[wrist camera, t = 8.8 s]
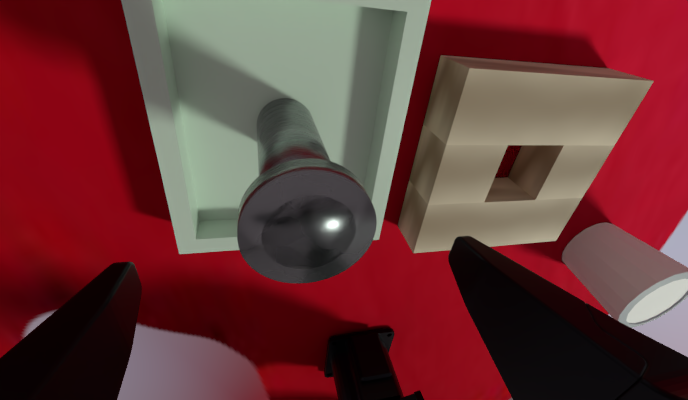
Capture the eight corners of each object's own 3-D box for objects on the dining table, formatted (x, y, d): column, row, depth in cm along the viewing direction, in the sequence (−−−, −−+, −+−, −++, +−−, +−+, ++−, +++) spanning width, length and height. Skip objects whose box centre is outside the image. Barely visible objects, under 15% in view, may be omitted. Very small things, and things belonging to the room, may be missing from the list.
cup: (563, 230, 30) (635, 290, 24) (631, 208, 30) (717, 261, 25) (549, 277, 34) (608, 338, 28) (609, 257, 34) (678, 313, 29)
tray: (367, 216, 24) (378, 239, 22) (186, 226, 21) (179, 254, 19) (411, -16, 16) (434, -13, 14) (130, -53, 13) (107, -58, 11)
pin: (323, 162, 19) (366, 276, 12) (245, 163, 18) (242, 289, 11) (329, 86, 17) (387, 173, 10) (239, 82, 16) (231, 176, 9)
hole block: (529, 217, 28) (555, 240, 25) (397, 225, 25) (413, 253, 22) (608, 68, 21) (653, 81, 19) (440, 55, 18) (469, 68, 16)
